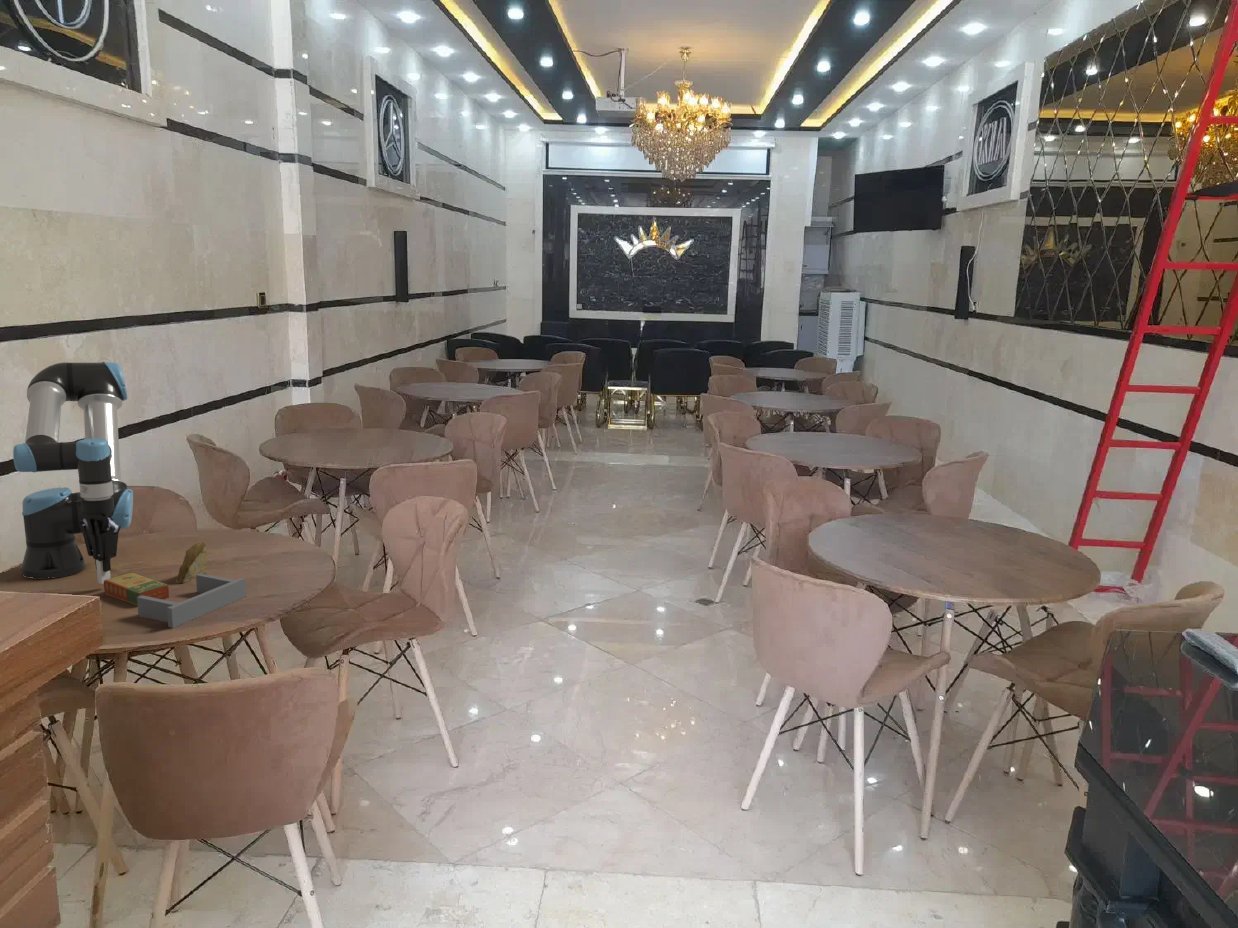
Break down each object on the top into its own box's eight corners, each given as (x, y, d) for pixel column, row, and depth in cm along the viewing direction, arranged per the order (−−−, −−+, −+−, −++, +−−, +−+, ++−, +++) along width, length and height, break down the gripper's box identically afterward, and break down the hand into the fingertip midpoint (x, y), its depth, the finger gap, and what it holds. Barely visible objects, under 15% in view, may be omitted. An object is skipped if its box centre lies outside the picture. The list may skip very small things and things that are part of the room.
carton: (134, 586, 237) (133, 571, 237) (170, 598, 230) (169, 583, 229) (103, 594, 230) (102, 579, 229) (140, 608, 223) (138, 592, 222)
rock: (182, 579, 237) (217, 566, 244) (168, 552, 238) (204, 540, 245) (173, 592, 244) (207, 579, 251) (160, 566, 245) (194, 554, 252)
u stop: (131, 618, 215) (130, 599, 214) (207, 588, 237) (206, 571, 236) (173, 627, 210) (171, 608, 209) (246, 596, 232) (245, 578, 231)
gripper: (66, 497, 227) (74, 582, 232) (102, 503, 223) (109, 589, 227) (92, 491, 234) (99, 574, 239) (127, 497, 229) (134, 581, 234)
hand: (104, 581), depth 233 cm, fingers closed
